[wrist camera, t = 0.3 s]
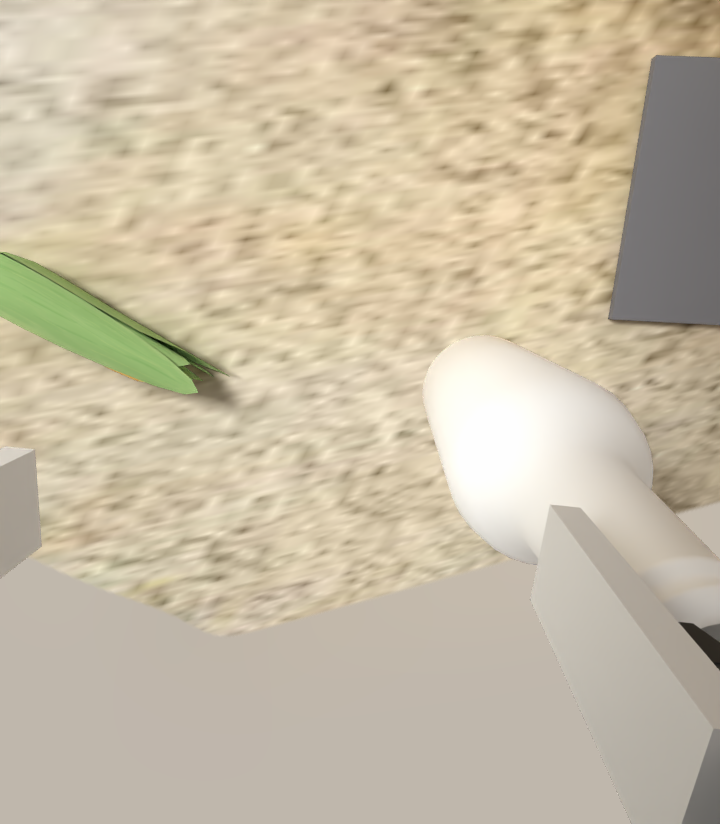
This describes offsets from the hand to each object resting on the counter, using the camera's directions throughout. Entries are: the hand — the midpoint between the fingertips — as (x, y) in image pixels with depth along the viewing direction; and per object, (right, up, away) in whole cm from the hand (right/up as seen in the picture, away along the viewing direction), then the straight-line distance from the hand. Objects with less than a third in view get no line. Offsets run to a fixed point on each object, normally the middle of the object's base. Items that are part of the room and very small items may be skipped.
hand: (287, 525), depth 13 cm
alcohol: (+11, +5, +27) cm, 30 cm away
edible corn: (-18, +9, +28) cm, 34 cm away
